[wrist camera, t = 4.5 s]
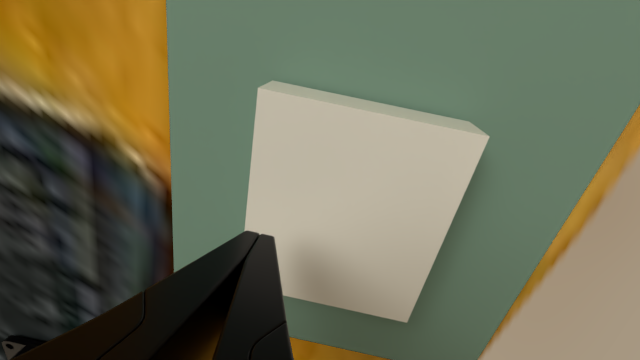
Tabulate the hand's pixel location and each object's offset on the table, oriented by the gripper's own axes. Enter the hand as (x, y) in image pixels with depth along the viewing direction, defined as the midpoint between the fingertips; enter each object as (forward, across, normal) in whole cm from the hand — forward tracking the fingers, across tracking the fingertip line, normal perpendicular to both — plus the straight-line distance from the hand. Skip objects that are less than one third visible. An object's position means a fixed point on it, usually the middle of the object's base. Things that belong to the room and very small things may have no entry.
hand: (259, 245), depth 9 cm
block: (+3, +1, 0) cm, 3 cm away
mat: (+4, -3, 0) cm, 5 cm away
